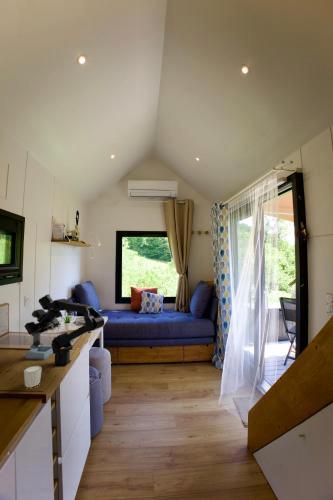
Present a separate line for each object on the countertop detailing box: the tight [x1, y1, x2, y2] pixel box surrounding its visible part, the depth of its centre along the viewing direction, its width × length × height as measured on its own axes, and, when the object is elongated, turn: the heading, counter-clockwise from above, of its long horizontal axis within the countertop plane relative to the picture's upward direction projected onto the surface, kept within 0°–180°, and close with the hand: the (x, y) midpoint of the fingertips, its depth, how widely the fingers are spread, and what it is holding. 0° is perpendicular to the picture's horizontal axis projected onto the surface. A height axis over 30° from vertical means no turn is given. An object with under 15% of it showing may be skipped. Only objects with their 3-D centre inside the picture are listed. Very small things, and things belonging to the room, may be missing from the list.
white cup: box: [23, 365, 43, 387], centre depth 108 cm, size 7×7×7 cm
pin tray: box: [25, 345, 54, 361], centre depth 142 cm, size 11×11×4 cm
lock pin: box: [29, 322, 44, 349], centre depth 139 cm, size 6×6×12 cm
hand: (35, 334), depth 140 cm, fingers closed on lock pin, 4 cm apart
